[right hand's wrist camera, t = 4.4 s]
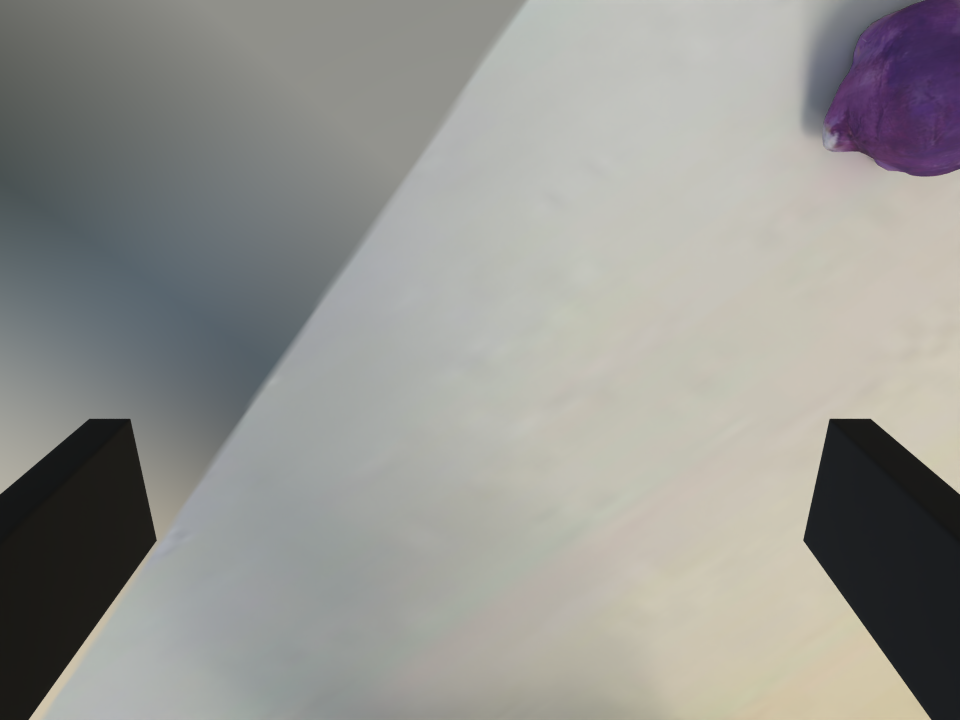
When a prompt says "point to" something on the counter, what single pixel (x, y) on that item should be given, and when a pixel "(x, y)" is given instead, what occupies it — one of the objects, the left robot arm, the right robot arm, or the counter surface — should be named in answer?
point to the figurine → (903, 92)
